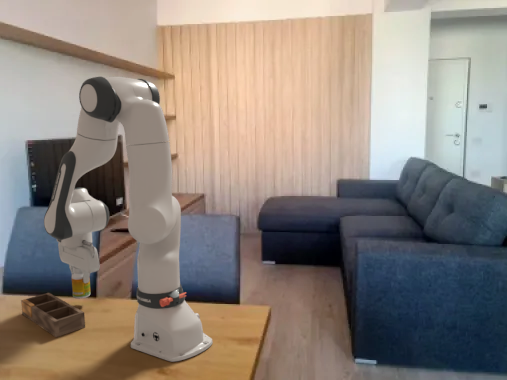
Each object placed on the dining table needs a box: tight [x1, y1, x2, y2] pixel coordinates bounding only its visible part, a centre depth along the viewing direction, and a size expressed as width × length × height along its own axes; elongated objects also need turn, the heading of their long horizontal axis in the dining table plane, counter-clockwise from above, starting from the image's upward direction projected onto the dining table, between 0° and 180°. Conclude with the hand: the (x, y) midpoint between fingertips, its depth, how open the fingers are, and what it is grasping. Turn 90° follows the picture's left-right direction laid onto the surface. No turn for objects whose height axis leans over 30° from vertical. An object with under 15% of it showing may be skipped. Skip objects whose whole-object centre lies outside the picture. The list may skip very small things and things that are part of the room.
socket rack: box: [20, 292, 86, 338], centre depth 137 cm, size 24×9×5 cm, turn 47°
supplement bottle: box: [71, 267, 91, 299], centre depth 148 cm, size 5×5×10 cm
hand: (80, 280), depth 148 cm, fingers closed on supplement bottle, 5 cm apart
